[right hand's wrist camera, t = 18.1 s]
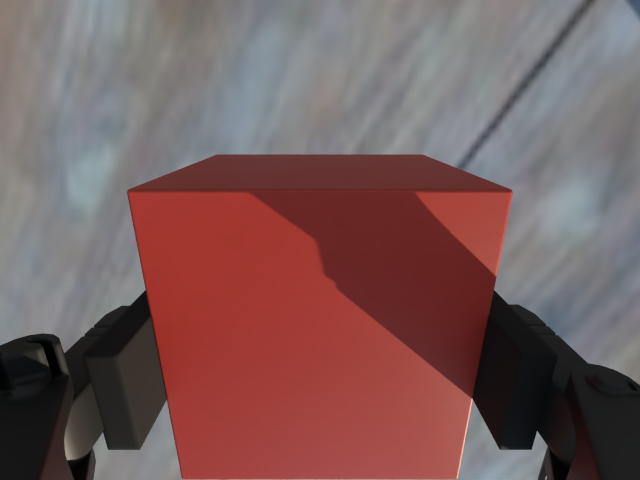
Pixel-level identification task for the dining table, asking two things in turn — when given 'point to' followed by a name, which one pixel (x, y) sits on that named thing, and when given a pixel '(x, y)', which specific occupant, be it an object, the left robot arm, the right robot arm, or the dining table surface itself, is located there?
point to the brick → (319, 311)
